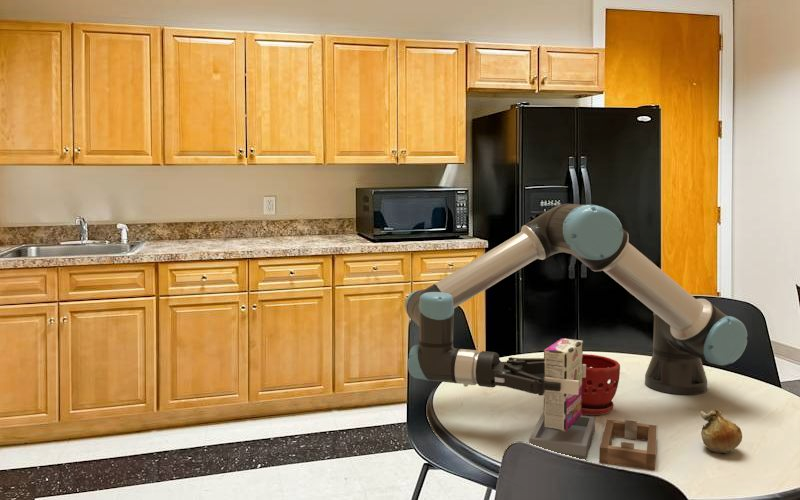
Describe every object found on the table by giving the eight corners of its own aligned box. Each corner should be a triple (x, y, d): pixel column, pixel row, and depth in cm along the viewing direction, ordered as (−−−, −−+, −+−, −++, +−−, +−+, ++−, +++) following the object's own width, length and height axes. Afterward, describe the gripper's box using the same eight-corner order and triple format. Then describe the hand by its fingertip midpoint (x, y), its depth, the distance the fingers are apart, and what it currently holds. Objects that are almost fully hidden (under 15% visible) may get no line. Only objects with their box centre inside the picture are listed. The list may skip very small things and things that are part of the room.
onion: (700, 456, 132) (702, 417, 131) (698, 441, 140) (699, 404, 139) (743, 461, 130) (745, 421, 129) (738, 446, 137) (740, 408, 136)
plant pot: (588, 423, 151) (589, 370, 149) (549, 405, 162) (550, 357, 161) (631, 413, 157) (632, 362, 155) (590, 397, 168) (591, 350, 167)
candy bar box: (559, 411, 146) (561, 337, 144) (582, 415, 143) (584, 340, 141) (541, 427, 136) (543, 348, 135) (565, 432, 134) (567, 352, 132)
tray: (594, 430, 146) (594, 417, 146) (585, 461, 130) (585, 446, 130) (543, 424, 150) (543, 411, 150) (528, 453, 134) (529, 438, 134)
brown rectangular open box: (656, 439, 141) (656, 420, 140) (654, 470, 126) (655, 449, 126) (606, 432, 145) (606, 414, 144) (599, 462, 130) (599, 442, 129)
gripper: (492, 370, 157) (588, 380, 149) (462, 402, 135) (574, 416, 127) (492, 339, 156) (589, 347, 148) (463, 365, 134) (575, 377, 126)
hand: (582, 379), depth 137 cm, fingers closed on candy bar box, 11 cm apart
